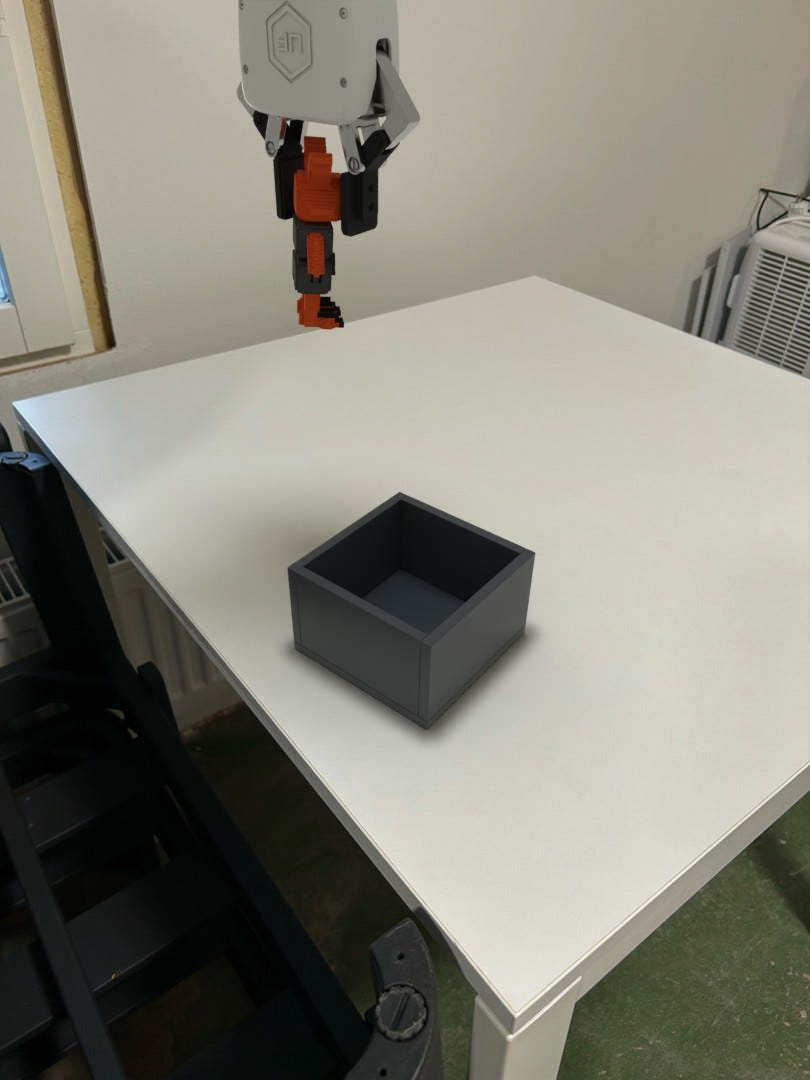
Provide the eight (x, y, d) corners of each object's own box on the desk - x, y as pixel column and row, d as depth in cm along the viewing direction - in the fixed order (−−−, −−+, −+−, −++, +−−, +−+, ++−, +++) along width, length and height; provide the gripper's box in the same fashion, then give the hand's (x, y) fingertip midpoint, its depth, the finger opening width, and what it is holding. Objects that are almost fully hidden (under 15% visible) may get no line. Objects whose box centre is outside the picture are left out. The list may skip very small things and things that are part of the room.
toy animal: (372, 341, 59) (386, 163, 52) (296, 339, 58) (299, 158, 51) (358, 300, 66) (369, 135, 58) (289, 297, 65) (292, 130, 57)
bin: (294, 648, 62) (286, 567, 58) (398, 568, 70) (399, 491, 66) (427, 730, 56) (430, 646, 51) (525, 632, 64) (535, 552, 59)
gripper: (166, -105, 49) (204, 212, 60) (392, -106, 41) (389, 262, 52) (257, -100, 54) (277, 193, 65) (476, -100, 46) (457, 235, 56)
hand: (326, 220), depth 58 cm, fingers closed on toy animal, 5 cm apart
